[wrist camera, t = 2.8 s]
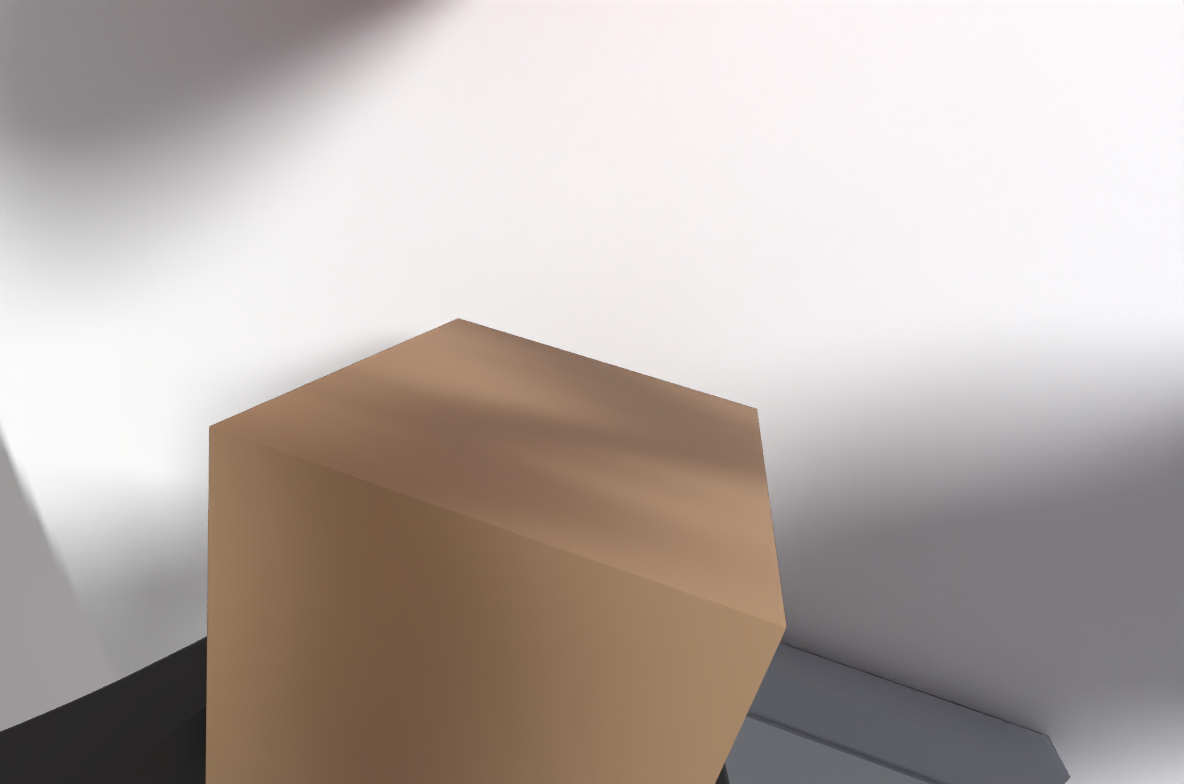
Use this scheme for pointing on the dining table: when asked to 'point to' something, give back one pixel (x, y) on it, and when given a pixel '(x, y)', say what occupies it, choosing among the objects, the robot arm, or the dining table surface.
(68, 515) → the dining table surface
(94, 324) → the dining table surface
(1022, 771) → the coaster
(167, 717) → the robot arm
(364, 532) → the walnut block
